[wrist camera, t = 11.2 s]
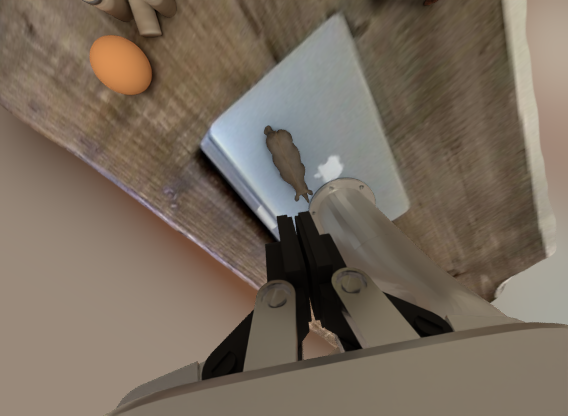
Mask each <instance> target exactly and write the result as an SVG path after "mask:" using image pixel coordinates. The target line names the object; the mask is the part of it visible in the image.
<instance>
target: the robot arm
mask: <svg viewBox="0 0 568 416" xmlns="http://www.w3.org/2000/svg"><path fill="white" fill-rule="evenodd" d="M330 186H331V187H330ZM329 187H330V188H329ZM313 211H314V212H313ZM277 223H278V229H279V235H280V242H274V243H268V244H265V249H266V266H267V283H266V284H264V285H263V286H262V287H261V288H260V289H259V291H258V293H257V296H256V302H255V307H254V310H253V311H252V312H251V313H250V314H249V315H248V316H247V317H246V318H245V319H244V320H243V321H242V322H241V323H240V324H239V325H238V326H237V327H236V328H235V329H234V330H233V331H232V332H231V334H229V336H228V337H227V338H226V339H225V340H224V341H223V342H222V343H221V344H220V345H219V346H218V347H217V348H216V349H215V350H214V351H213V352H212V353H211V354H210V356H209V357H208V358H207V360H206V361H205V362H202V363H200V364H199V363H198V362H194V363H192V364H190V365H187V366H185V367H183V368H180V369H178V370H175V371H173V372H171V373H168V374H166V375H164V376H161V377H159V378H157V379H154V380H152V381H150V382H147V383H145V384H143V385H140V386H138V387H137V388H135V389H133V390H132V391H130V392H129V393H128V394H127V395H126V396H125V397H124V398H123V399H122V400H121V402H120V403H119V405H118V406H117V408H116V409H114V410H113V411H111V412H109V413H107V414H106V415H104V416H568V325H565V324H557V323H556V324H555V323H539V322H530V323H525V322H523V321H520V320H518V319H515V318H510V317H507V316H506V315H505V314H503V313H502V312H501V311H500V310H498V309H497V308H496V307H494V306H493V305H491V304H490V303H489V302H487V301H486V300H484V299H483V298H482V297H480V296H479V295H477V294H476V293H474V292H473V291H472V290H470V289H469V288H467V287H466V286H464V285H463V284H462V283H460V282H459V281H458V280H456V279H455V278H454V277H452V276H451V275H450V274H448V273H447V272H446V271H445V270H443V269H442V268H441V267H440V266H439V265H437V264H436V263H435V262H434V261H433V260H432V259H431V258H429V257H428V256H427V255H426V254H425V253H424V252H423V251H422V250H421V249H420V248H419V247H418V246H416V245H415V244H414V243H413V242H412V241H411V240H410V239H409V238H408V237H407V236H406V235H405V234H404V233H403V232H402V231H401V230H400V229H399V228H398V227H397V226H396V225H395V224H393V223H392V222H391V221H390V220H389V219H388V218H387V217H386V216H385V215H384V214H383V213H382V212H381V211H380V210H379V209H378V208H377V207H376V203H375V197H374V194H373V192H372V190H371V189H370V188H369V187H368V186H367V185H366V184H364V183H363V182H361V181H359V180H357V179H353V178H341V179H337V180H333V181H331V182H329V183H327V184H326V185H324V186H323V187H322V188H320V189H319V190H318V191H317V193H316V194H315V195H314V197H313V198H312V201H311V203H310V207H309V211H306V212H300V213H298V216H295V224H296V231H295V227H294V224H293V220H292V217H287V215H282V216H277ZM296 232H297V234H296ZM309 298H310V300H309ZM310 302H311V305H312V309H313V313H314V317H315V320H320V322H321V326H322V328H324V327H325V328H326V329H327V330H329V331H331V332H332V333H334V338H335V341H336V343H337V345H338V347H337V348H336V349H334V350H333V351H332V352H331V353H330V354H329V355H328V356H323V357H318V358H312V359H307V360H304V359H303V342H302V341H303V340H304V338H305V337H306V335H307V334H308V333H309V323H308V322H311V321H312V318H311V309H310Z"/></svg>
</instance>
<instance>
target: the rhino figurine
mask: <svg viewBox="0 0 568 416" xmlns="http://www.w3.org/2000/svg"><path fill="white" fill-rule="evenodd" d="M264 134H265V135H267V138H266V144H267V147H268V149H269V151H270V152H271V153H272V157H273V162H274V164H275V166H276V167H277V168H278V170H279V171H280V175H281V177H282V179H283V180H284V181H286V182H287V183H289V184H291V185H292V186H293V188H294V189H295V191H296V196H295V201H296V202H297V201H298V200H299V196H300V195H302V196H303V197H304V198H305V199H306V201H307V202H308V203H309V199H308V195H307V193H308V194H309V195H313V192H312V191H311V190H308V187H307V185H306V183H305V181H304V175H305V167H304V165H303V164H302V163H301V159H300V153H299V151H298V149H297V147H296V146H295V145H294V144H293V143H292V136H291V134H290V133H289V132H288V131H286V130H282V129H280V130H278V131H277V132H276V131H273V130H272V128H271V127H270V126H266V127H265V130H264Z"/></svg>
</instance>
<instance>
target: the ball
mask: <svg viewBox="0 0 568 416" xmlns="http://www.w3.org/2000/svg"><path fill="white" fill-rule="evenodd" d="M90 62H91V66H92V68H93V71H94V72H95V74H96V75H97V77H98V78H99V79H100V80H101V82H103V83H104V84H105V85H106V86H107V87H109V88H110V89H112V90H114V91H116V92H118V93H121V94H125V95H135V94H139V93H141V92H143V91H145V90H146V89H147V88H148V86H149V85H150V82H151V78H152V70H151V66H150V63H149V61H148V59H147V57H146V55H145V54H144V53H143V51H142V50H141V49H140V48H139V47H138V46H137V45H135V44H134V43H133V42H131V41H129V40H127V39H125V38H123V37H120V36H114V35H108V36H103V37H101V38H99V39H97V40H96V41H95V42H94V43H93V45H92V47H91V50H90Z"/></svg>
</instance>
